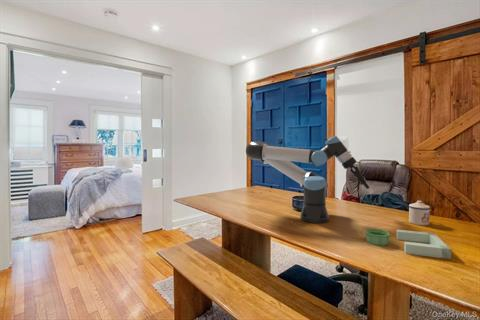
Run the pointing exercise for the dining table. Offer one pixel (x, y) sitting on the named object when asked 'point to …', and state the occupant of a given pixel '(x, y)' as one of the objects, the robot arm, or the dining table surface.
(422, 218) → the teacup with lid
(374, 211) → the dining table surface
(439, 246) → the holder
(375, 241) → the ramekin
